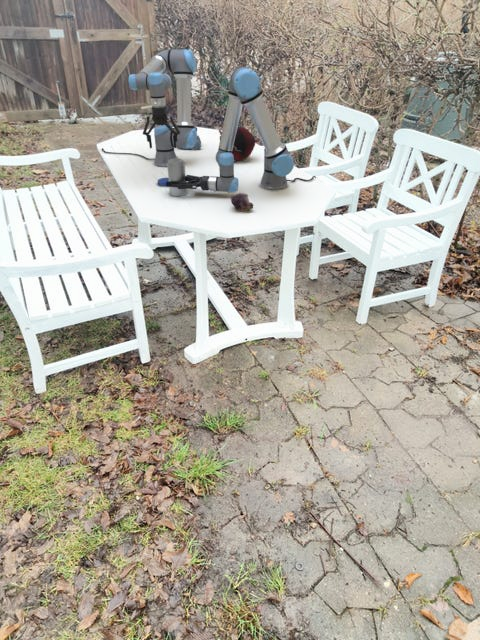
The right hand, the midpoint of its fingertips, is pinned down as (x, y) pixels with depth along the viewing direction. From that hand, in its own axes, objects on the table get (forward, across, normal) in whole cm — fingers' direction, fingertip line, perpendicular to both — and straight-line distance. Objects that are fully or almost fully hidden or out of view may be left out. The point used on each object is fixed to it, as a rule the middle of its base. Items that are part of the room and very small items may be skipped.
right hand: (169, 180), depth 243 cm
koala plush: (+21, +97, -7) cm, 100 cm away
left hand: (+8, +15, +13) cm, 22 cm away
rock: (-43, -17, -7) cm, 47 cm away
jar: (-4, 0, -7) cm, 8 cm away
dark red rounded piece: (-21, +73, -7) cm, 76 cm away
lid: (+8, +15, -5) cm, 17 cm away
